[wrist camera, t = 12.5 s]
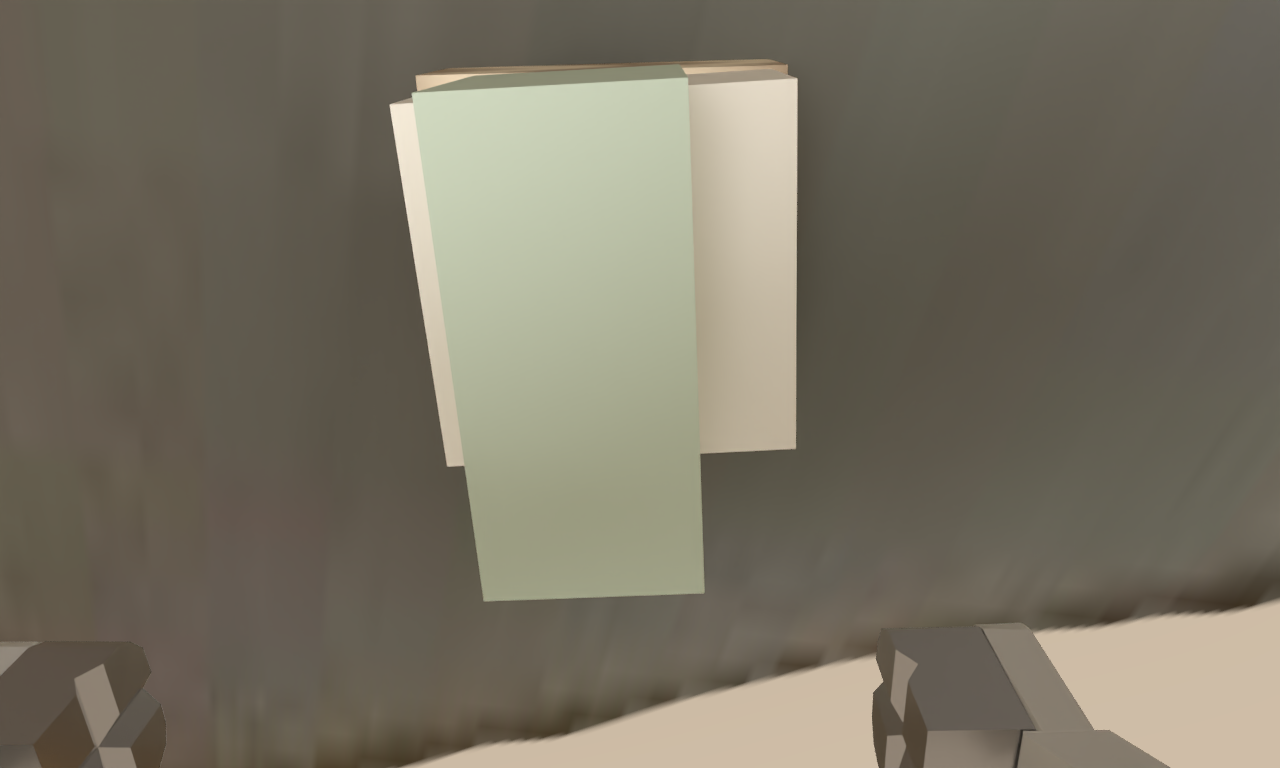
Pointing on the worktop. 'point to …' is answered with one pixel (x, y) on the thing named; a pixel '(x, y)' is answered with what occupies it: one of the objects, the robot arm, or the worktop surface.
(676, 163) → the green bar
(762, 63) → the tower base
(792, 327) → the tower top
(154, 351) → the worktop surface
